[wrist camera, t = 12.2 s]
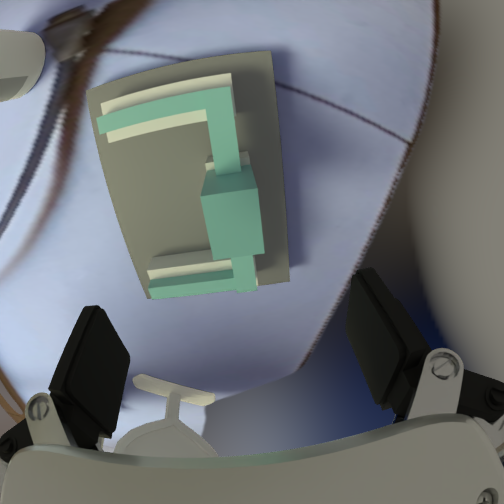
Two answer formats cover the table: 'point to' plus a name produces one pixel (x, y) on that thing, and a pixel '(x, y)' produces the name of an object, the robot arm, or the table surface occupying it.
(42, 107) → the table surface
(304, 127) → the table surface
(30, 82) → the white bottle
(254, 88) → the stand
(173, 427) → the heart sculpture
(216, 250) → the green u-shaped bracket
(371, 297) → the robot arm
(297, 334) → the table surface
